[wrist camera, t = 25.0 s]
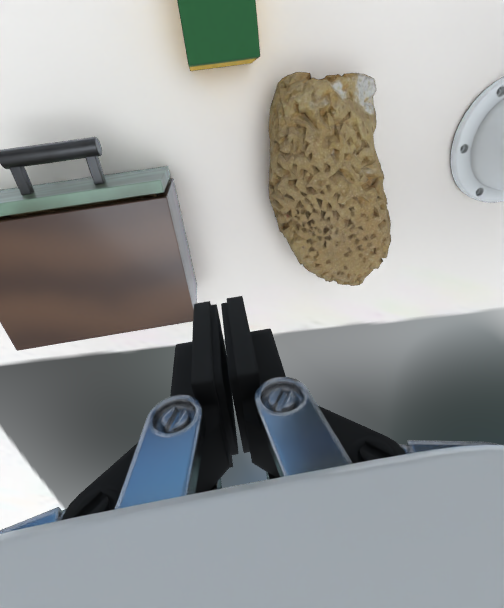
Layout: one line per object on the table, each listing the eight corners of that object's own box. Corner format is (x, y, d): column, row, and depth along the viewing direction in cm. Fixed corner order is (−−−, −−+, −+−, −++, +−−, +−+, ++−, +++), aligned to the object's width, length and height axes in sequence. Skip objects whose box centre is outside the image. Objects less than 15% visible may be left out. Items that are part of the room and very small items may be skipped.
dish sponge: (241, -45, 27) (249, -72, 23) (251, 63, 31) (260, 56, 27) (171, -37, 27) (166, -63, 23) (190, 71, 31) (188, 65, 26)
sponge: (251, 89, 33) (264, 291, 39) (283, 59, 26) (292, 312, 32) (371, 90, 36) (365, 275, 43) (428, 64, 29) (411, 291, 35)
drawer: (-29, 151, 31) (-86, 163, 25) (159, 125, 32) (149, 130, 26) (44, 302, 39) (15, 339, 33) (193, 278, 40) (192, 309, 34)
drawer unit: (-3, 204, 34) (-55, 229, 27) (173, 178, 35) (166, 196, 28) (48, 308, 40) (16, 351, 33) (196, 284, 41) (196, 321, 34)
